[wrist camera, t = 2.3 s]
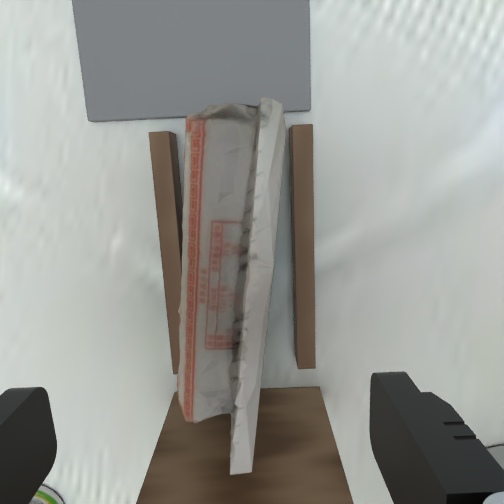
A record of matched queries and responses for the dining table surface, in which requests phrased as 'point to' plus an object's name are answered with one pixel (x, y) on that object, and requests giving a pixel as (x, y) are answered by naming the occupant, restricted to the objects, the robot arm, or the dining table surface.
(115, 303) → the dining table surface
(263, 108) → the packaged product
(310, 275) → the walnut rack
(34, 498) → the supplement bottle
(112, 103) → the charcoal pad
